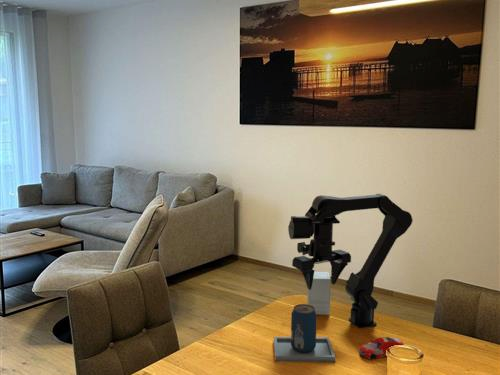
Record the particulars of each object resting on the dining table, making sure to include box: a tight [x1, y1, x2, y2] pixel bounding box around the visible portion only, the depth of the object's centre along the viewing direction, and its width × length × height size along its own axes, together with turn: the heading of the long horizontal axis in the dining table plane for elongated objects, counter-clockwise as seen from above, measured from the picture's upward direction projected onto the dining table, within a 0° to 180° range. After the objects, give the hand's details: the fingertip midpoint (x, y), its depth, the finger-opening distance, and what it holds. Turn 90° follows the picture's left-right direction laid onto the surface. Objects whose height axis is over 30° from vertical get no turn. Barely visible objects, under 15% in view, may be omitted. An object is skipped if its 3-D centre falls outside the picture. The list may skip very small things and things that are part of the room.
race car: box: [358, 336, 405, 361], centre depth 128 cm, size 13×5×4 cm, turn 107°
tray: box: [273, 336, 336, 363], centre depth 128 cm, size 16×11×2 cm
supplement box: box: [306, 271, 332, 316], centre depth 155 cm, size 7×7×13 cm
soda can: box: [290, 303, 318, 354], centre depth 128 cm, size 7×7×12 cm
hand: (321, 286), depth 142 cm, fingers open, 9 cm apart
